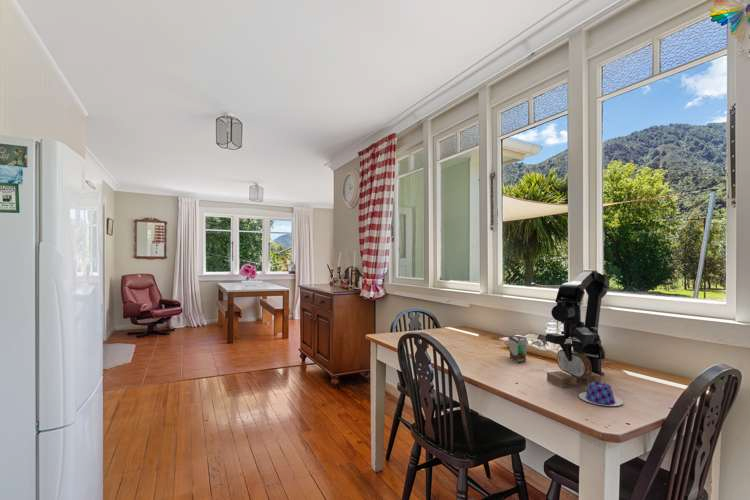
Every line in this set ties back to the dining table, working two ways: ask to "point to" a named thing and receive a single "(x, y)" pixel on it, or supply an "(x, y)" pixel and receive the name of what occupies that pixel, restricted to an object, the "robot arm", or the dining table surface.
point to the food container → (518, 348)
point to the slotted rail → (570, 379)
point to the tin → (575, 364)
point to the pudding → (600, 394)
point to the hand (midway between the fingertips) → (573, 360)
